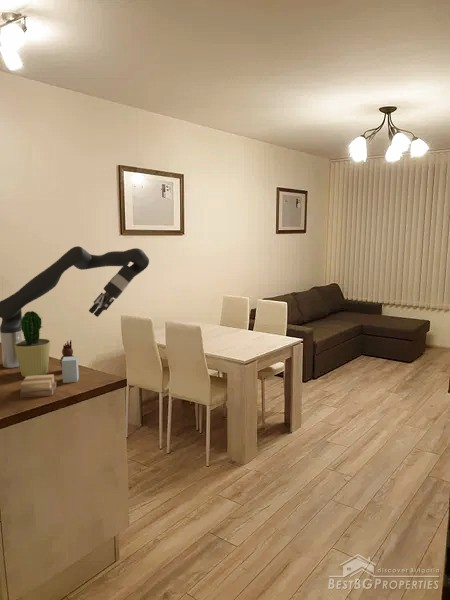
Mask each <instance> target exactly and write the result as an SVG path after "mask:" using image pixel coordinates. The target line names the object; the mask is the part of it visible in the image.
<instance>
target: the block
mask: <svg viewBox="0 0 450 600" xmlns="http://www.w3.org/2000/svg"><path fill="white" fill-rule="evenodd" d="M78 357H79V356H78V355H77V356H74V355H73V357H63V359H62V367H61V373H62V384H65V383H67V384H68V383H77V382H78V381H79V378H80V373H79V372H80V371H79V370H80V369H79V358H78Z"/></svg>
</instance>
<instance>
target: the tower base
mask: <svg viewBox="0 0 450 600" xmlns="http://www.w3.org/2000/svg"><path fill="white" fill-rule="evenodd" d="M54 380H55V381H54V383H53V385H52V387H51V389H50V390H39V391H24V392H21V390H20V392H19V396H20V398H34V397H38V398H39V397H50V396H53V395H54V392H55V390H56V388H57V386H58V381H57V379H54Z"/></svg>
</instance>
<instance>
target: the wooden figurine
mask: <svg viewBox="0 0 450 600" xmlns="http://www.w3.org/2000/svg"><path fill="white" fill-rule="evenodd" d="M72 347H73V346H72V339H70V341H69V340H67V341H66V343H65V344H63V348H62V350H61V354H62V356H61V357H60V359H59V360H60V361H59V362H60V367H61V368H62V359H63V357H73V356H74V355H73V354H74V350H73V348H72Z"/></svg>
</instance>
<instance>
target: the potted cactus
mask: <svg viewBox="0 0 450 600" xmlns="http://www.w3.org/2000/svg"><path fill="white" fill-rule="evenodd" d="M42 319H43V317H42V316H40V313H39V314H38V312H37V311H34V310H28V311H25V312H24V314H23V315H22V321H21V328H20V329H21V335H22V336H23V337H22V338H23V339H22V341H19V342H16V343H15V344H14V345H15V350H16V354H17V358H18V362H19V371H20V375H21V376H22V377H25V378H26V376H32V375H47V373H48V371H49V359H50V352H51V351H50V349H51V339H49V338H48V339H47V338H40V332H41V329H42V328H43V326H42ZM19 324H20V323H19Z"/></svg>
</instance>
